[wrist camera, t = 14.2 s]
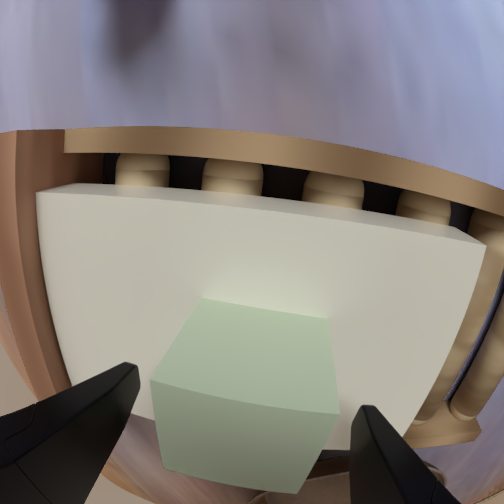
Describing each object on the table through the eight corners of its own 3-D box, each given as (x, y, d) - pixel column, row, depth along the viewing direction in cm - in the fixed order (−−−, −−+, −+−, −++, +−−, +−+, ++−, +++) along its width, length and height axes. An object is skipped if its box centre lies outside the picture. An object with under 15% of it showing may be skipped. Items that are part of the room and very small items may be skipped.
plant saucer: (441, 489, 20) (446, 510, 17) (292, 528, 24) (290, 547, 21) (433, 403, 16) (446, 435, 13) (211, 463, 21) (202, 491, 18)
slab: (454, 227, 10) (486, 245, 8) (385, 413, 13) (394, 449, 11) (73, 183, 12) (35, 192, 9) (96, 364, 15) (74, 391, 13)
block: (327, 318, 9) (340, 414, 5) (301, 405, 10) (297, 493, 7) (201, 297, 10) (149, 379, 6) (197, 387, 11) (163, 468, 7)
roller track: (544, 210, 11) (614, 240, 5) (461, 409, 16) (488, 470, 10) (77, 131, 13) (-11, 135, 8) (92, 357, 18) (44, 412, 12)
